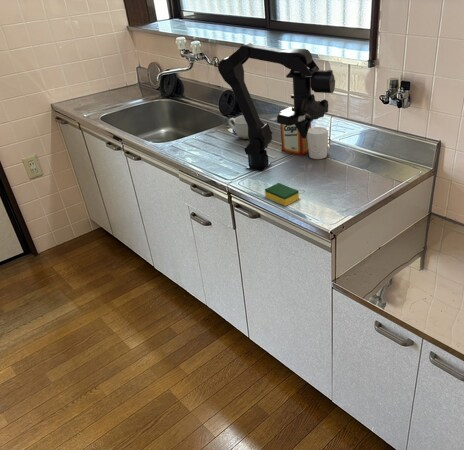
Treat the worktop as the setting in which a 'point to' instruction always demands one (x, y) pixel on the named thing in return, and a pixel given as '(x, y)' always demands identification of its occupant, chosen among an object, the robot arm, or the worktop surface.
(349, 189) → the worktop surface
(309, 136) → the white cup
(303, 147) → the baking soda box
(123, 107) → the worktop surface
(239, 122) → the teacup
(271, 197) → the sponge
